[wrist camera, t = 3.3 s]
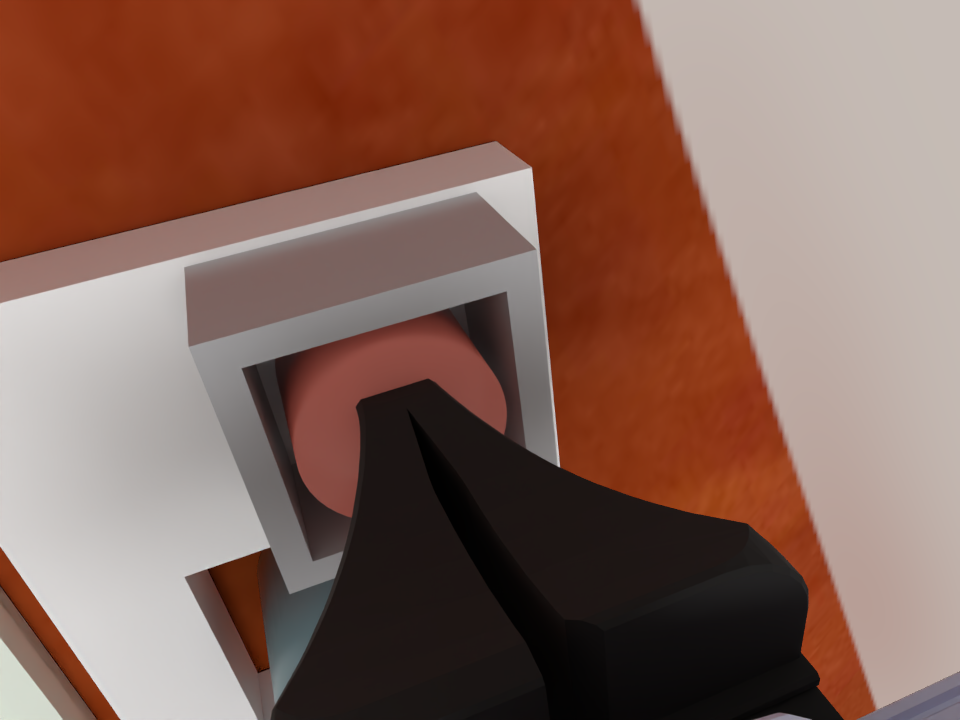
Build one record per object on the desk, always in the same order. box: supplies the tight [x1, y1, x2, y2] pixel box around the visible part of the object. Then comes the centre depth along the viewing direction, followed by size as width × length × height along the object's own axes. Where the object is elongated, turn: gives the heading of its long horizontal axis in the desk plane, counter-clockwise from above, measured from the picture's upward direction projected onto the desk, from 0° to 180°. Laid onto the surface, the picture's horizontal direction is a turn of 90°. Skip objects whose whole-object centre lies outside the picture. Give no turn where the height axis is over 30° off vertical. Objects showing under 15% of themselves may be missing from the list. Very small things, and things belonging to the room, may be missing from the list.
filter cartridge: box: [257, 547, 335, 704], centre depth 18 cm, size 4×4×8 cm
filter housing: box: [0, 141, 560, 720], centre depth 17 cm, size 15×12×5 cm
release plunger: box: [275, 308, 507, 518], centre depth 14 cm, size 4×4×3 cm
